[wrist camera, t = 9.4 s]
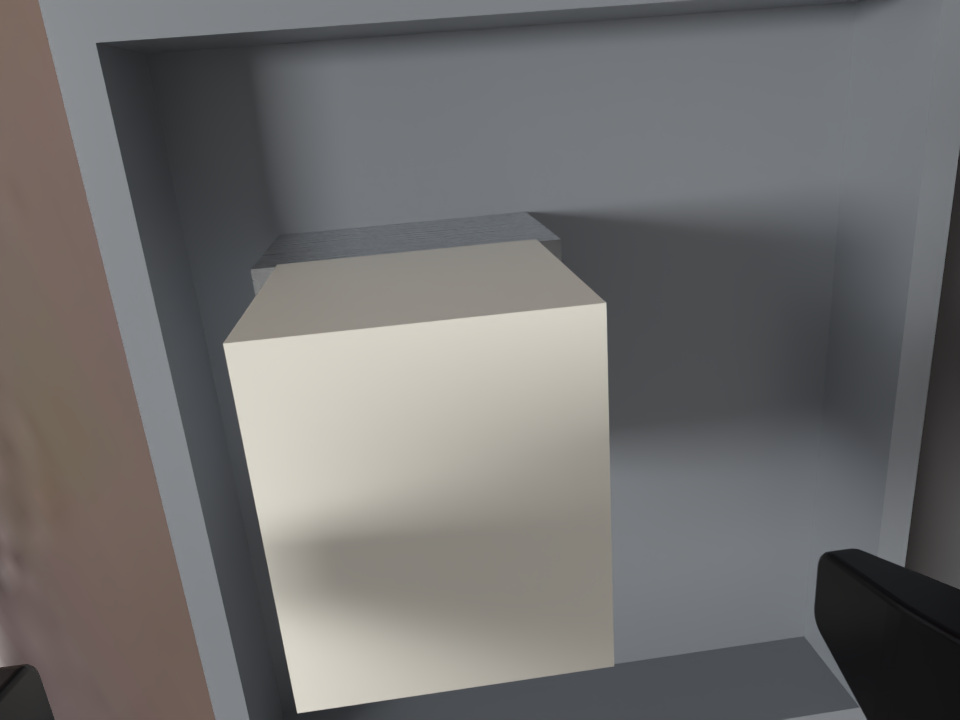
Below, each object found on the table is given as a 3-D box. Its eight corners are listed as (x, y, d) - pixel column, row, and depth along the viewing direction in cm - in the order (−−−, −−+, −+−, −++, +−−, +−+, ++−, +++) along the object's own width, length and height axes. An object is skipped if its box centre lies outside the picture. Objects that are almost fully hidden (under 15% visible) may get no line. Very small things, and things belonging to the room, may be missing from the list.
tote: (878, -35, 18) (987, -66, 15) (817, 642, 25) (883, 725, 21) (107, 18, 17) (37, -4, 13) (263, 724, 23) (242, 827, 20)
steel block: (525, 211, 18) (560, 239, 15) (537, 432, 20) (571, 506, 17) (279, 234, 18) (250, 269, 14) (316, 459, 20) (299, 541, 16)
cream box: (536, 238, 15) (606, 302, 10) (550, 507, 17) (614, 666, 12) (276, 264, 14) (222, 343, 10) (323, 537, 16) (297, 713, 12)
